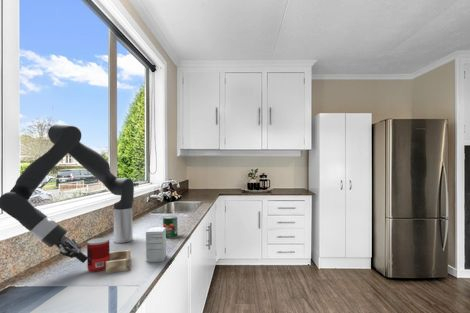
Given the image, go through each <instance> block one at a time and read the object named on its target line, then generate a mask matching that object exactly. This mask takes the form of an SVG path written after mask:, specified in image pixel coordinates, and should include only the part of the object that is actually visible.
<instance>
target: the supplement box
mask: <svg viewBox="0 0 470 313" xmlns="http://www.w3.org/2000/svg"><path fill="white" fill-rule="evenodd" d="M145 257H146V260H145V261H146V263H151V262H152V263H155V262H156V263H157V262H164V261H165V259H166V257H167V239H166V227H163V226H162V227H159V226H158V227H148V229H147V230H146V231H145Z"/></svg>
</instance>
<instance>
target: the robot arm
mask: <svg viewBox="0 0 470 313" xmlns="http://www.w3.org/2000/svg"><path fill="white" fill-rule="evenodd" d="M47 136H48V139H49V140H50V141H51V142H50V143H52V144H53V146H52V147H50V149H49V150H48V151H46V152H45V153H44V154H42V155H41V156H39V157H38V158H36V159H35V160H34V161H32V162H31V163H30V164H29V165H28V166H27V167H26V168H25V169H24V170H23V172H22V173H21V174H20V176H18V177H17V179H16V181H15V183H14V186H13V187H12V188H11V189H10V191H8V192H5V193H3V194H2V195H1V196H0V209H1V211H3V212H4V213H6V214H7V215H8V216H11V218H13V219H14V220H16V221H17V222H19V223H20V225H21V226H22V227H24V228H25V229H26V230H28V231H29V232H31V233H32V235H33V236H34V237H36V238H37V239H38V240H39V241H41V242H42V243H43V244H45V245H46V246H47V247H49V248H53V247H54V246H56V247H57V248H58V251H59V250H60V251H59V254H60V255H61V256H62V255H63V256H66V257H68V258H71V259H73V258H74V259H75V258H76V259H77V260H78V261H80V262H81V263H82V264H84V263H85V262H87V255H86V254H85V253H83V252H82V251H81V247H80V246H79V244H78V243H77V242H76V241H75V239H74V238H69V237H67V236H65V235H66V234H67V233H68V230H66V229H65V228H63V226H61V225H60V224H59V223H57V222H56V220H53V219H52V218H50V217H49V216H47V215H46V214H45V213H44V212H42V211H41V210H40V209H38V208H36V207H35V206H34V205H33V204H32V203H31V202H30V201H29V200H30V199H31V197H32V195H33V194H34V192H35V191H36V189H38V187H40V185H41V183H43V181H44V180H45V178H46V177H47V176H48V175H49V173H50V172H51V171H52V170H53V169H54V168H55V167H56V165H58V164H59V163H60V162H61V161H62V160H63V159H64V158H65V156H67V155H70V156H71V157H72V158H73V160H75V161H76V162H77V163H78V164H80V165H81V166H82V167H83V168H84V169H85V170H86V171H88V172H89V174H91V175H93V176H94V177H95V178H96V179H97V180H98V181H99V182H100V183H101V184H103V185H104V186H105V188H107V190H108V192H110V193H111V194H113V195H115V196H120V200H118V201H116V202H114V203H113V242H114V243H116V244H121V243H129V242H131V241H133V239H134V237H133V235H134V234H133V231H134V230H133V204H134V196H135V185H134V182H133V180H132V179H131V178H129V177H128V178H127V177H117V176H115V175H114V174H113V173H112V172H111V166H110V163H109V161H108V160H107V159H106V158H105V157H104V156H103V155H102V154H101V153H99V152H98V151H96V150H94V149H93V148H91V147H89V146H87V145H85V143H83V142H81V140H82V131H81V130H80V128H78V126H75V125H71V124H66V123H65V124H64V123H57V124H53V125H51V126H50V127H49V128H48V130H47Z"/></svg>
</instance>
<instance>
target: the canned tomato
mask: <svg viewBox="0 0 470 313" xmlns="http://www.w3.org/2000/svg"><path fill="white" fill-rule="evenodd" d="M162 227H166V240H168V239H175V238H177V237H178V236H179V235H178V234H179V233H178V215H165V216H163V217H162Z"/></svg>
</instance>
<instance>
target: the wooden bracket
mask: <svg viewBox="0 0 470 313" xmlns="http://www.w3.org/2000/svg"><path fill="white" fill-rule="evenodd" d="M131 251H132V250H131V249H123V250H116V251H110V261H106V269H105V274H109V273H111V274H112V273H117V272H125V271H130V270H131V261H132V256H131Z"/></svg>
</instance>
